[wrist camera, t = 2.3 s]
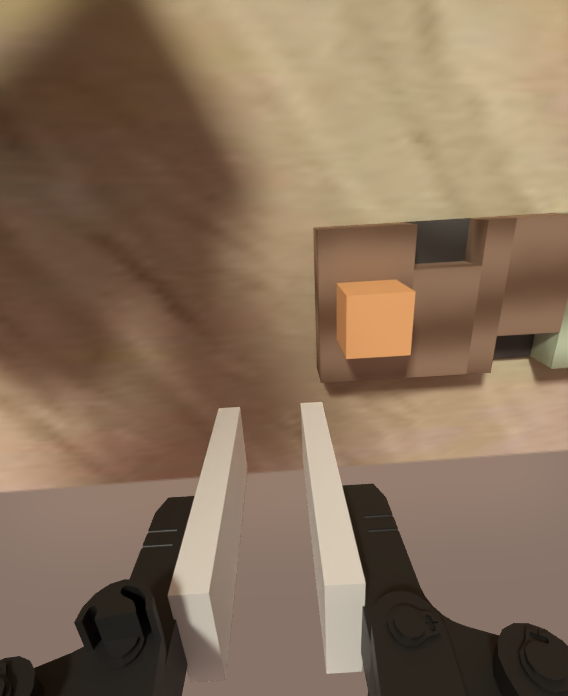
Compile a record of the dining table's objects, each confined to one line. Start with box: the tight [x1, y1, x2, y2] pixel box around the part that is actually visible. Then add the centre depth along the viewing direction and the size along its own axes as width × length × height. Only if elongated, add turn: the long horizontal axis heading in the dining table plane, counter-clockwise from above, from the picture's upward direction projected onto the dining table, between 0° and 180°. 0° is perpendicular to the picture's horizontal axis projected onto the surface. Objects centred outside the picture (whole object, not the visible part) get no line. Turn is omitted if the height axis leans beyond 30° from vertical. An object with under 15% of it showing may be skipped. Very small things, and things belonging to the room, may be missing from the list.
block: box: [337, 280, 416, 359], centre depth 26 cm, size 4×4×4 cm
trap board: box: [314, 212, 568, 383], centre depth 28 cm, size 12×26×4 cm, turn 93°
